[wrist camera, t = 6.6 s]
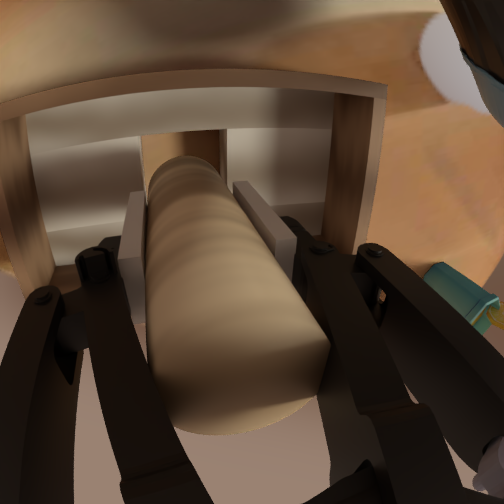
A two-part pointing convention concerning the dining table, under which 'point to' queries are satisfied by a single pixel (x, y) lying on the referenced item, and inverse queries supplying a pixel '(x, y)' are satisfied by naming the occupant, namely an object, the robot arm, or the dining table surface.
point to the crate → (178, 120)
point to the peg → (221, 310)
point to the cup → (466, 297)
